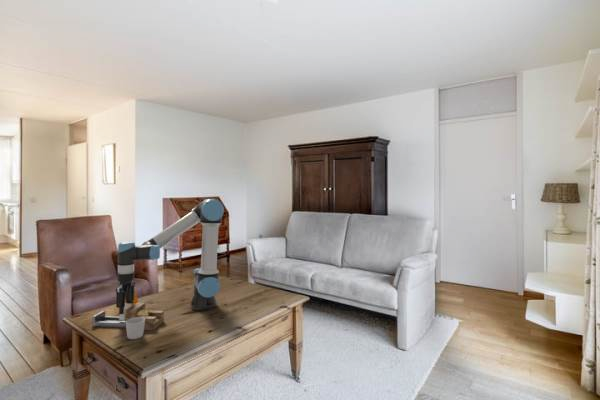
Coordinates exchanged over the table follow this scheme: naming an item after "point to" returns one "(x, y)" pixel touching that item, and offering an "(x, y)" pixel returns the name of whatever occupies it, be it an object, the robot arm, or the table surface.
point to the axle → (142, 313)
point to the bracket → (134, 300)
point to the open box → (151, 320)
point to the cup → (135, 327)
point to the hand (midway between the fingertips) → (125, 318)
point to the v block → (107, 321)
